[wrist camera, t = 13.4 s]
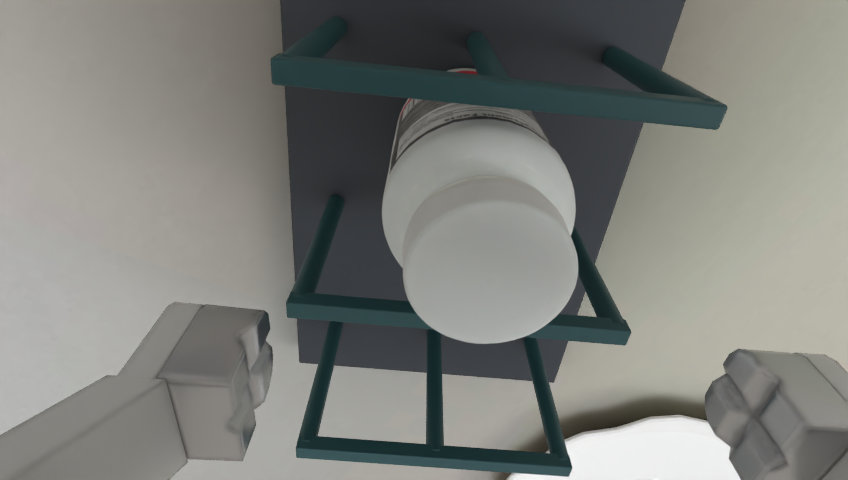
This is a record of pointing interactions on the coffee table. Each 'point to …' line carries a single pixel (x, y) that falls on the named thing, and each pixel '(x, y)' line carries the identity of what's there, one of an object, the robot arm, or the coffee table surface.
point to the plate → (647, 452)
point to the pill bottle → (480, 219)
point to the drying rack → (370, 159)
